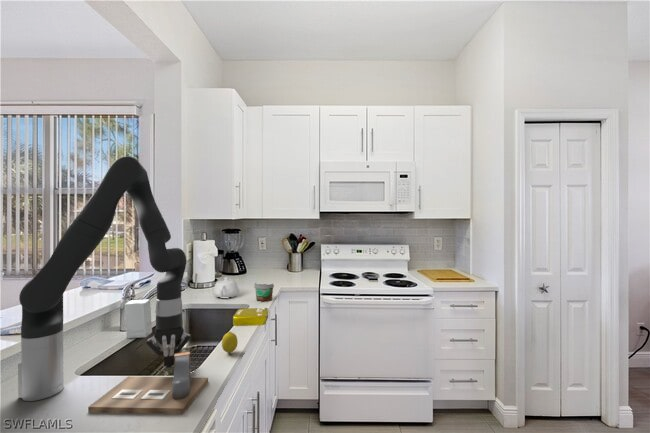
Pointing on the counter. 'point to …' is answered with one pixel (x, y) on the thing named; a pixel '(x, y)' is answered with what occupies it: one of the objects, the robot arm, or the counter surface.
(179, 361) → the swing arm
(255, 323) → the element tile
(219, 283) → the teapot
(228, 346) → the lemon
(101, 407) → the label board
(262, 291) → the food container
